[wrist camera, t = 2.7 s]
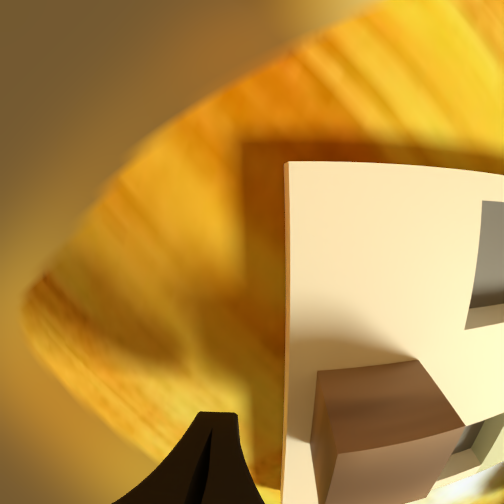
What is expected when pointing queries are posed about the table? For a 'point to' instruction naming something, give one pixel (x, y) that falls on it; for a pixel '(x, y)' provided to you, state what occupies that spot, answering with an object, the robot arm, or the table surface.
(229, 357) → the table surface
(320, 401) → the walnut block
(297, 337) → the board
